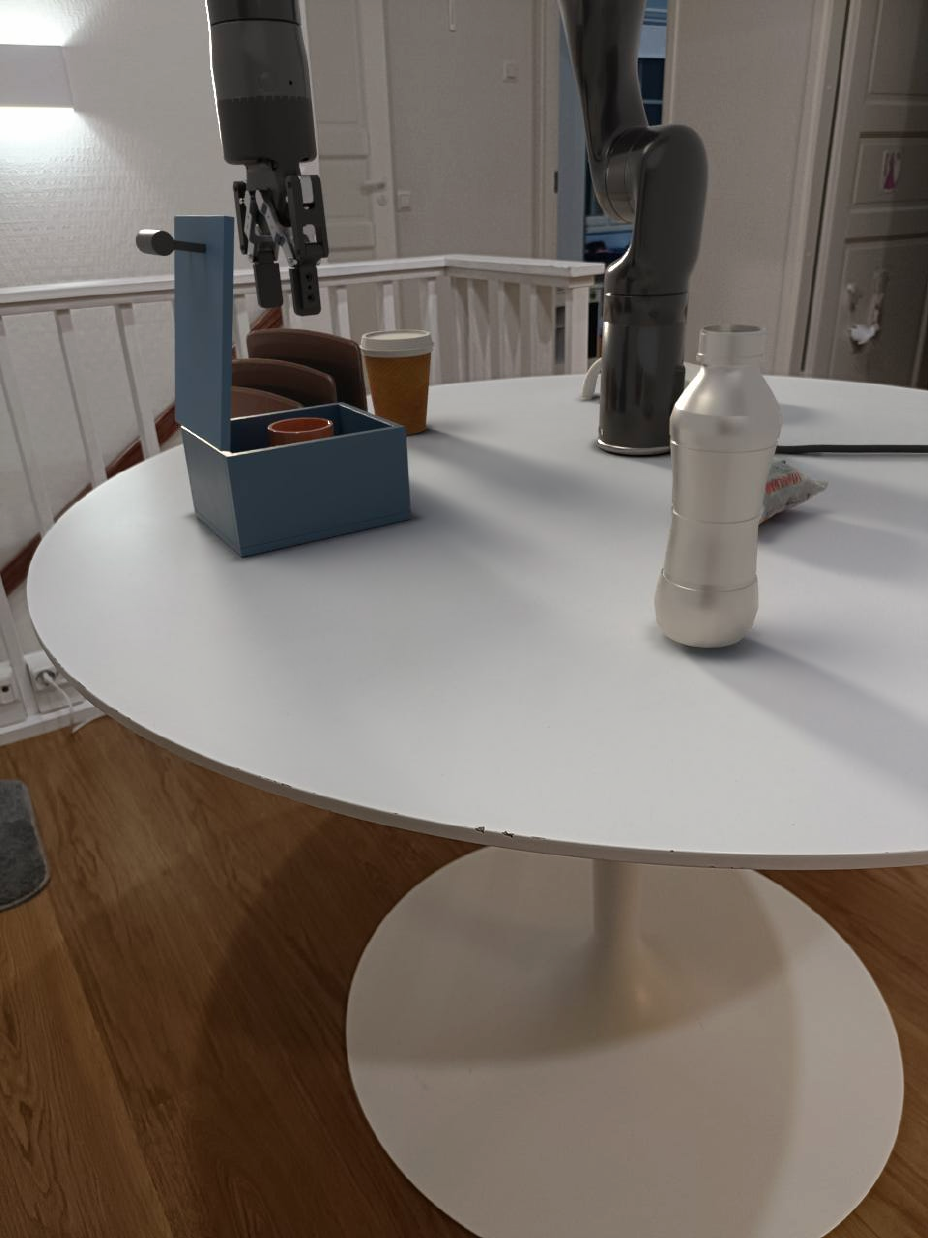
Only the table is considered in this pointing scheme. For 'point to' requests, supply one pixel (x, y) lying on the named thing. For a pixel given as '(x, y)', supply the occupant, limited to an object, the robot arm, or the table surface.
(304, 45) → the robot arm
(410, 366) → the disposable coffee cup
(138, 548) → the table surface
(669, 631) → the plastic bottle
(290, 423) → the cup
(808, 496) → the packaged food
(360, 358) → the letter holder
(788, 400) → the table surface
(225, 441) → the lid
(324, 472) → the dark blue rectangular box
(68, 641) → the table surface
